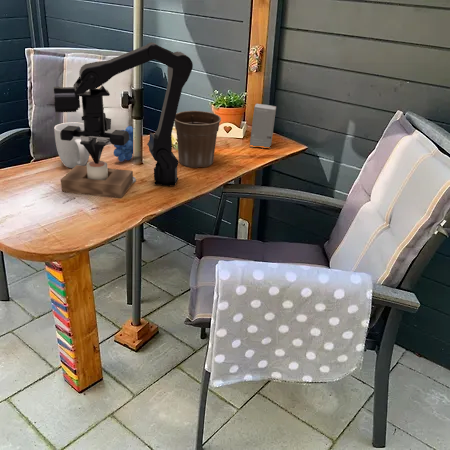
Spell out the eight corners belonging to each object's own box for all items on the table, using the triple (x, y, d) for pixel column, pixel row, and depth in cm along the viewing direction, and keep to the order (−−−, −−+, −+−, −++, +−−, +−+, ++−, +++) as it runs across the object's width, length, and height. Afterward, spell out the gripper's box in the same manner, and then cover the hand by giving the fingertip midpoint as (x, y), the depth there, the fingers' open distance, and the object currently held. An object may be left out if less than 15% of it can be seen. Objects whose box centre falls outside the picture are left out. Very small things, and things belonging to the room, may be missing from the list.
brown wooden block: (133, 182, 153) (132, 170, 152) (121, 198, 143) (120, 185, 141) (77, 177, 155) (76, 165, 153) (61, 192, 144) (60, 179, 142)
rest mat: (138, 177, 157) (138, 176, 157) (132, 185, 151) (132, 184, 151) (117, 175, 158) (117, 174, 158) (110, 183, 152) (110, 182, 152)
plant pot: (209, 173, 163) (211, 126, 156) (165, 166, 168) (165, 119, 160) (224, 158, 177) (227, 114, 170) (183, 151, 181) (184, 108, 174)
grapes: (132, 153, 177) (131, 120, 171) (145, 158, 173) (144, 125, 167) (106, 161, 169) (104, 127, 163) (119, 166, 165) (117, 131, 159)
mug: (101, 171, 160) (98, 132, 154) (67, 177, 154) (63, 137, 148) (85, 157, 171) (82, 120, 165) (53, 162, 165) (49, 124, 159)
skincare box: (249, 147, 190) (252, 107, 182) (251, 142, 196) (254, 102, 188) (271, 150, 189) (275, 109, 181) (272, 144, 195) (276, 104, 187)
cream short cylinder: (111, 180, 151) (110, 160, 148) (104, 187, 145) (103, 167, 142) (92, 178, 151) (90, 158, 148) (85, 185, 146) (83, 165, 143)
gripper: (133, 107, 144) (135, 157, 152) (72, 101, 146) (77, 151, 153) (122, 117, 135) (124, 170, 142) (56, 111, 136) (62, 164, 143)
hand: (97, 163), depth 145 cm, fingers closed, pressing on cream short cylinder
